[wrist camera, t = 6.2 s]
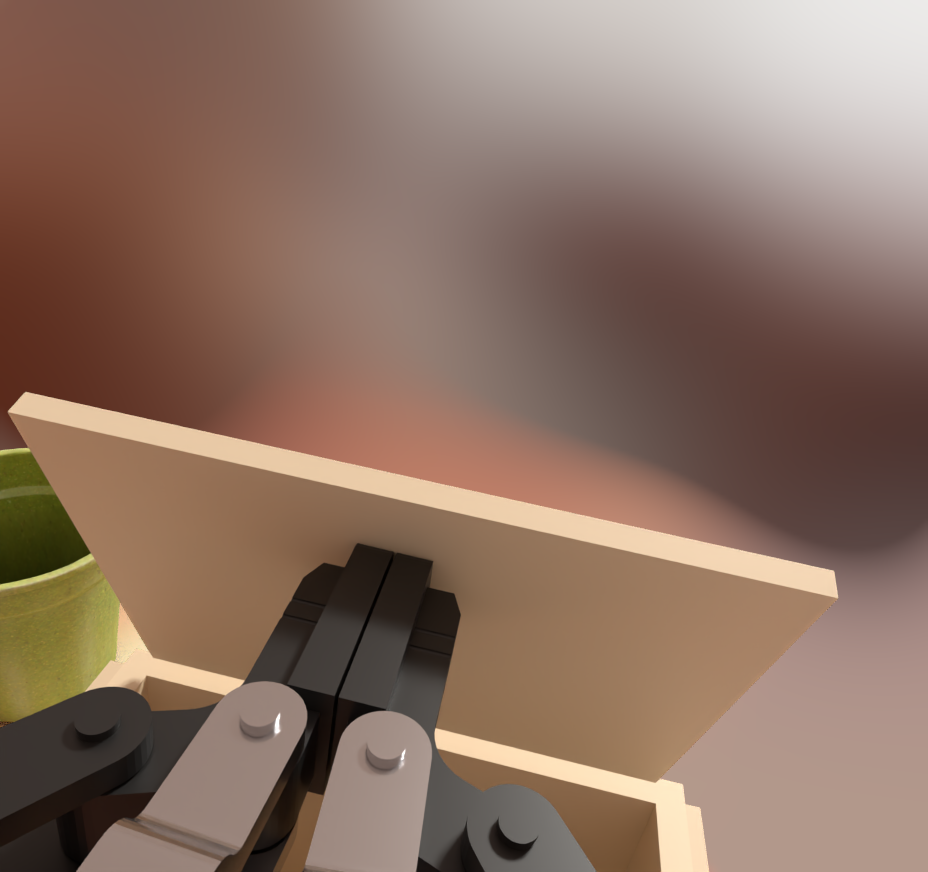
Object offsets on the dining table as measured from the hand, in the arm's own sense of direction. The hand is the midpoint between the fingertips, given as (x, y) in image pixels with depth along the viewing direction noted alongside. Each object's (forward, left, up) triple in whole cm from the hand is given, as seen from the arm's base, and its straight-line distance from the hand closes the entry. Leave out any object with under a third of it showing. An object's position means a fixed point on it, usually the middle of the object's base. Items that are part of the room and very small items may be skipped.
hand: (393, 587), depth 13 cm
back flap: (0, +3, -7) cm, 8 cm away
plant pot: (-17, +9, -18) cm, 26 cm away
